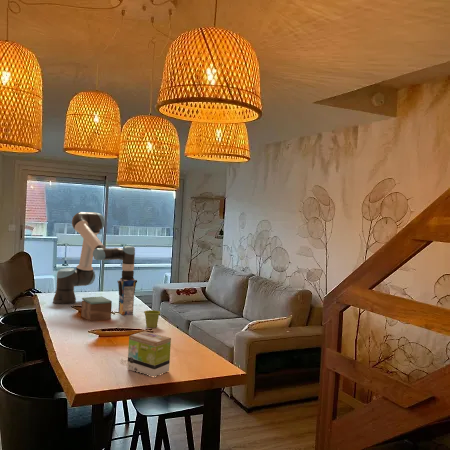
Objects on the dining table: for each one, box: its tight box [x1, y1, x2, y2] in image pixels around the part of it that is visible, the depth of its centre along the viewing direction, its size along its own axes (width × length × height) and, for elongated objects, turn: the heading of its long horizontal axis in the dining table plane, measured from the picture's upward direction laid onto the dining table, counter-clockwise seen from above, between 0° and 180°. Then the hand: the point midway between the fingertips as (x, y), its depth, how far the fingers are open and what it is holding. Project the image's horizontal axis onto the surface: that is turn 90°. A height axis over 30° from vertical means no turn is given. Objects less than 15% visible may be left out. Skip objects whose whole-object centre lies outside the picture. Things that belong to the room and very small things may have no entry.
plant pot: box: [143, 309, 161, 329], centre depth 262 cm, size 9×9×9 cm
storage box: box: [80, 300, 113, 322], centre depth 276 cm, size 14×13×10 cm
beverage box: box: [118, 277, 136, 316], centre depth 293 cm, size 7×11×22 cm, turn 26°
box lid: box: [81, 296, 113, 304], centre depth 276 cm, size 14×13×1 cm
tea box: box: [127, 330, 172, 378], centre depth 188 cm, size 15×10×15 cm, turn 58°
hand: (126, 306), depth 293 cm, fingers closed on beverage box, 2 cm apart
